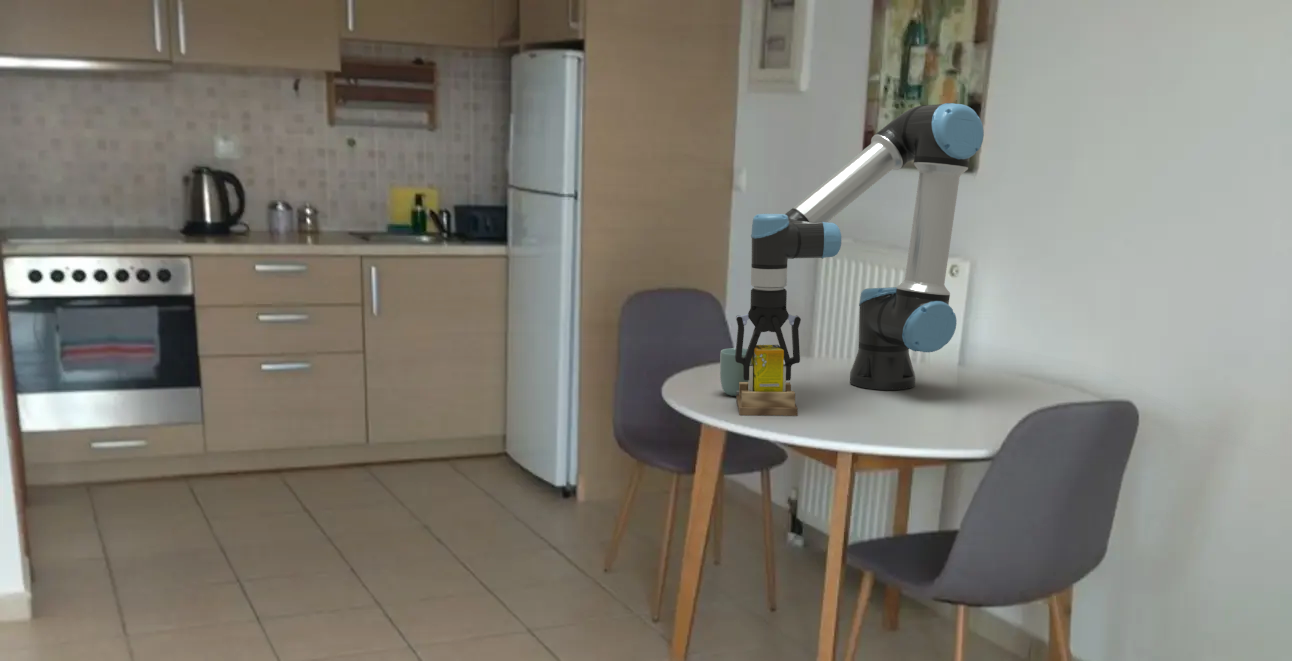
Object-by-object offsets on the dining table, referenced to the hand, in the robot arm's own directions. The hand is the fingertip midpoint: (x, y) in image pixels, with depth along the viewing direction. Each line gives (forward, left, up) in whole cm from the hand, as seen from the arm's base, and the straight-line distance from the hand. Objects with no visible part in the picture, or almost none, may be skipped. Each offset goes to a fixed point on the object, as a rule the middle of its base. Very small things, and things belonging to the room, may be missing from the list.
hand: (766, 395), depth 232 cm
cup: (+6, -13, -3) cm, 14 cm away
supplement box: (0, 0, -1) cm, 1 cm away
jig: (0, 0, -3) cm, 3 cm away
